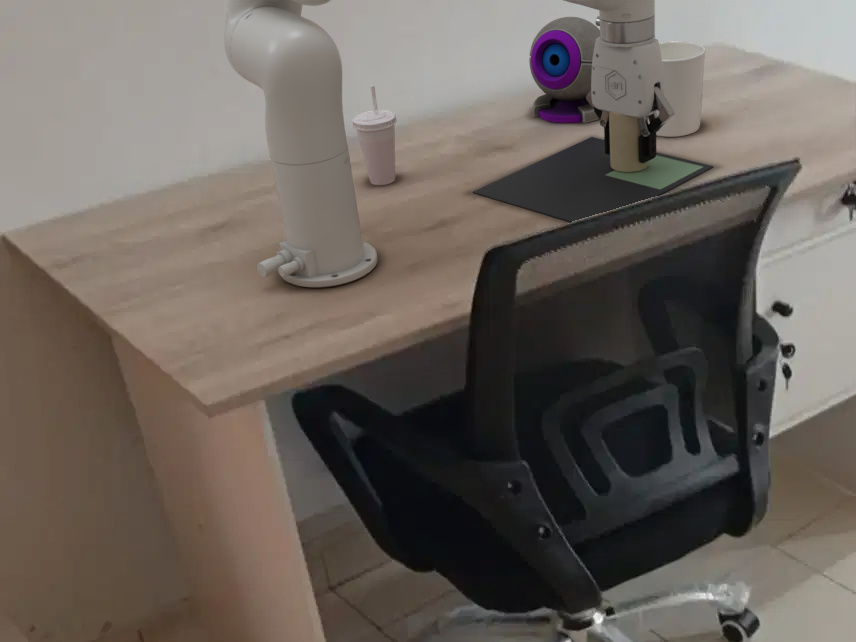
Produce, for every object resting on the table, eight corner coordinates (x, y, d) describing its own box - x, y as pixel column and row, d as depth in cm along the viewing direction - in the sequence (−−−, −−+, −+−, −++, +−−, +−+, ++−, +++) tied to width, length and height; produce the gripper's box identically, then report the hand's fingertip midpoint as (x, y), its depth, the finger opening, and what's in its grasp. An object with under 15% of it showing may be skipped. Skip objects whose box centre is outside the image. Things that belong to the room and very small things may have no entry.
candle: (654, 161, 181) (654, 93, 176) (638, 174, 177) (637, 105, 172) (621, 156, 184) (619, 90, 178) (603, 169, 180) (601, 101, 175)
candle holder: (703, 138, 188) (703, 59, 182) (638, 139, 190) (636, 61, 184) (707, 116, 196) (707, 40, 190) (644, 117, 198) (643, 41, 192)
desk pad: (594, 229, 163) (594, 228, 163) (472, 192, 177) (472, 191, 177) (713, 167, 178) (713, 165, 178) (591, 137, 192) (591, 136, 192)
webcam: (518, 119, 202) (511, 25, 194) (557, 95, 211) (552, 4, 203) (589, 128, 196) (585, 31, 188) (626, 102, 205) (623, 9, 197)
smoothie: (413, 177, 184) (401, 84, 177) (381, 191, 181) (367, 97, 173) (384, 169, 188) (371, 77, 181) (352, 183, 185) (337, 90, 177)
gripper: (562, 28, 173) (568, 152, 183) (660, 44, 163) (661, 176, 173) (597, 15, 178) (601, 137, 187) (694, 30, 167) (694, 159, 177)
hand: (630, 154), depth 180 cm, fingers closed on candle, 5 cm apart
